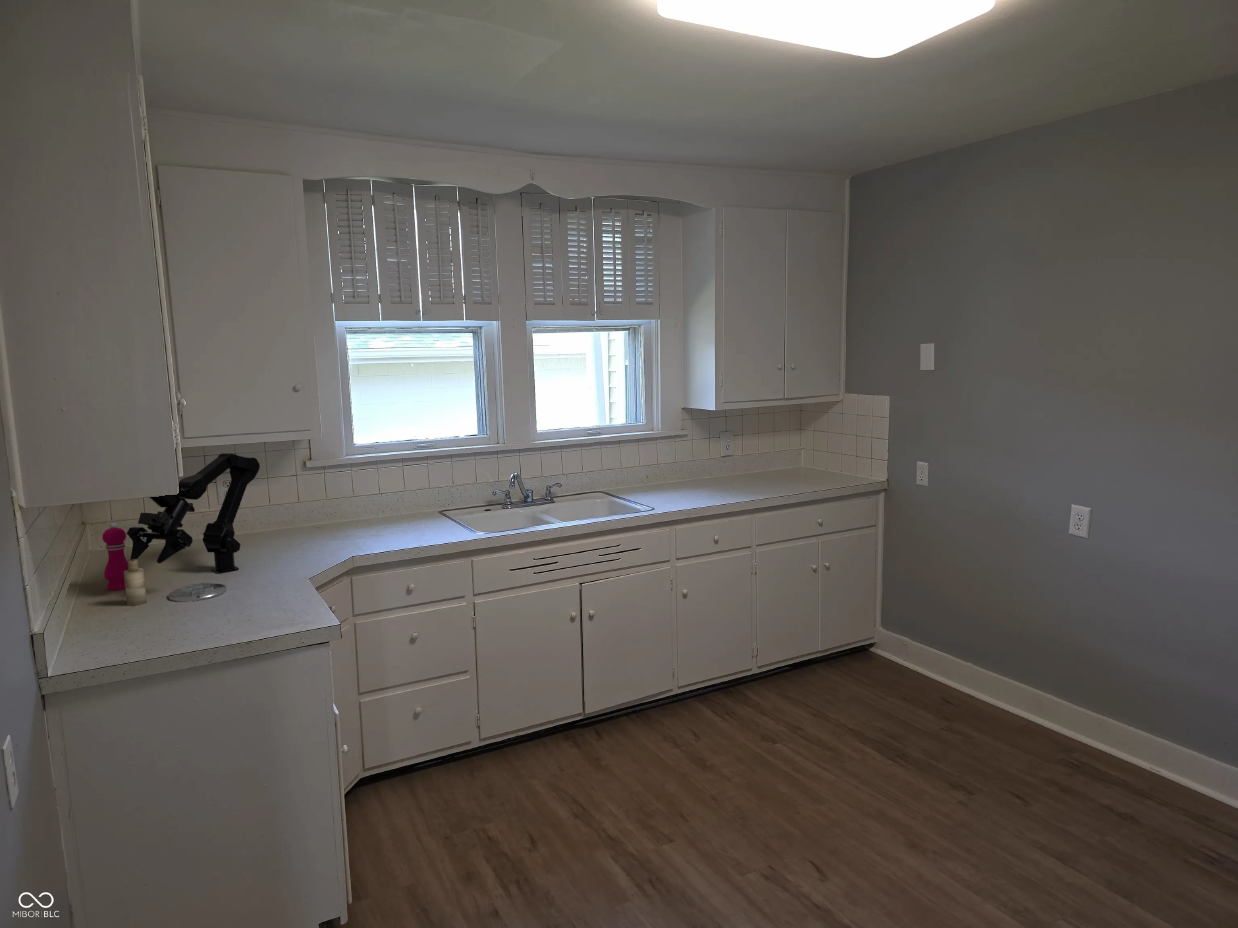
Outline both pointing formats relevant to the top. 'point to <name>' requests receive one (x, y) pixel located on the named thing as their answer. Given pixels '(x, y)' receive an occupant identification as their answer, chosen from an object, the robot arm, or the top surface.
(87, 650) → the top surface
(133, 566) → the knob
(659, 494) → the top surface
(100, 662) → the top surface
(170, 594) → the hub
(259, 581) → the top surface
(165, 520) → the robot arm
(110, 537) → the pepper mill
